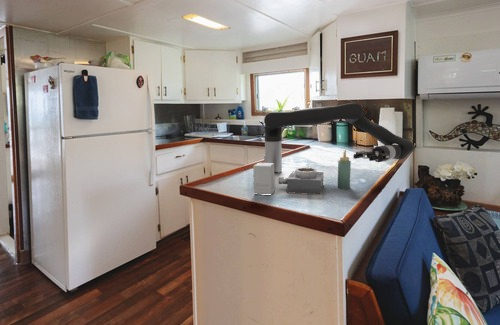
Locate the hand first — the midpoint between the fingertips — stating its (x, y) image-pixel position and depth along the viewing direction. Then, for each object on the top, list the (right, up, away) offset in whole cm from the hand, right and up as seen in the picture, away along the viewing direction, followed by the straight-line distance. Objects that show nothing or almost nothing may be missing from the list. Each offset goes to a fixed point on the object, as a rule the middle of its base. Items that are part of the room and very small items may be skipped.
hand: (361, 157), depth 141 cm
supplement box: (-45, -16, -9) cm, 48 cm away
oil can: (-9, -13, -4) cm, 17 cm away
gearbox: (-29, -14, -3) cm, 32 cm away
